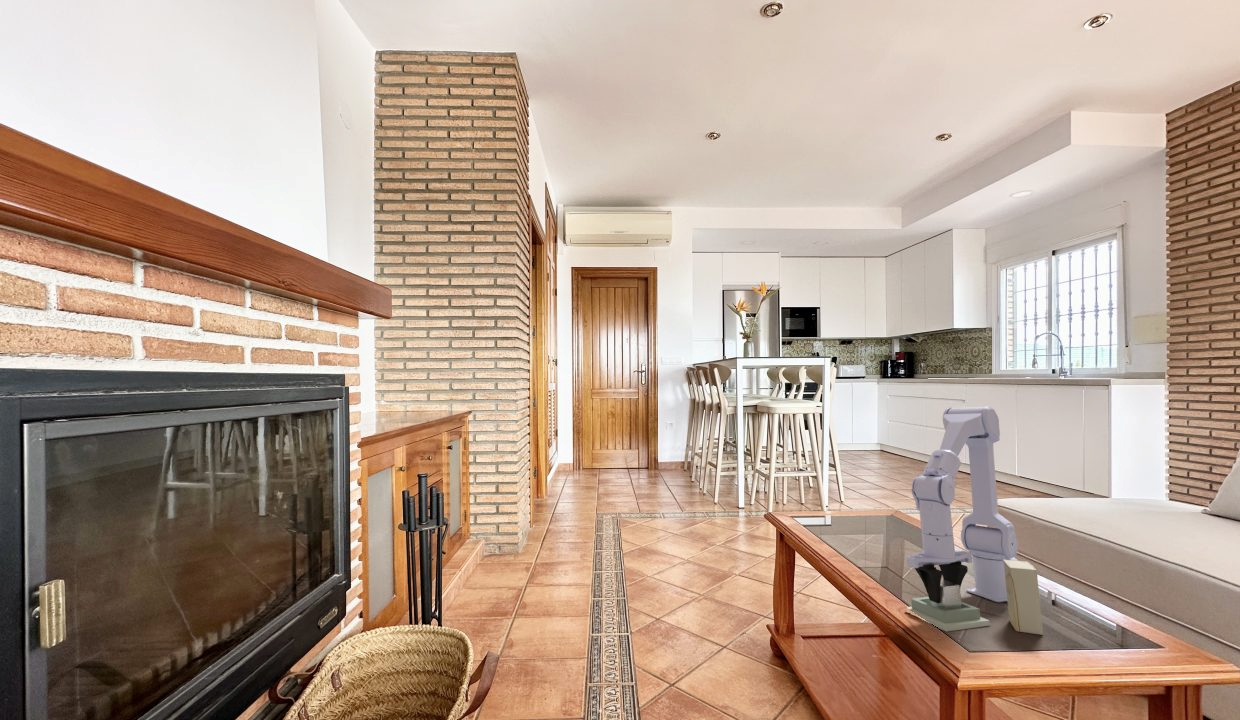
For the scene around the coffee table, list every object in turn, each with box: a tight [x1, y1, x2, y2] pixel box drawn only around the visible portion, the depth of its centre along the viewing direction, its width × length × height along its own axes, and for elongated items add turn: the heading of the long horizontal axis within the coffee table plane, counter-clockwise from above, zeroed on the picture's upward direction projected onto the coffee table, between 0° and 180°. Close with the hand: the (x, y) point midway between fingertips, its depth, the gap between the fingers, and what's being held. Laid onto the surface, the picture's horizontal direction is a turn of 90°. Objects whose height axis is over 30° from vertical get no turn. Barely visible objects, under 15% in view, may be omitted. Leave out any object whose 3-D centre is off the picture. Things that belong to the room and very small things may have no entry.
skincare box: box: [1003, 560, 1044, 636], centre depth 99 cm, size 6×4×12 cm
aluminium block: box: [929, 578, 962, 611], centre depth 104 cm, size 4×4×6 cm
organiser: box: [906, 596, 991, 632], centre depth 104 cm, size 10×10×3 cm
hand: (943, 600), depth 104 cm, fingers closed on aluminium block, 4 cm apart
